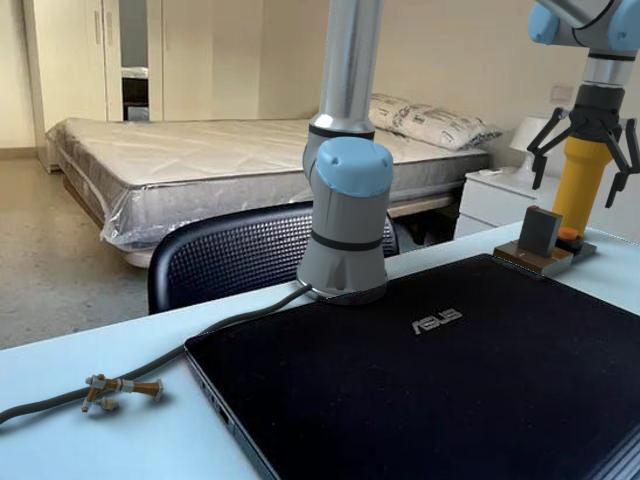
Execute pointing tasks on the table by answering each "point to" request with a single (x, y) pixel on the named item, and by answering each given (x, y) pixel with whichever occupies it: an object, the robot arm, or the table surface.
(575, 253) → the button block
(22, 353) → the table surface
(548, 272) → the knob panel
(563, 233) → the button
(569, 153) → the flashlight
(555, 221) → the dark gray rectangular block
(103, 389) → the toy blaster gun
